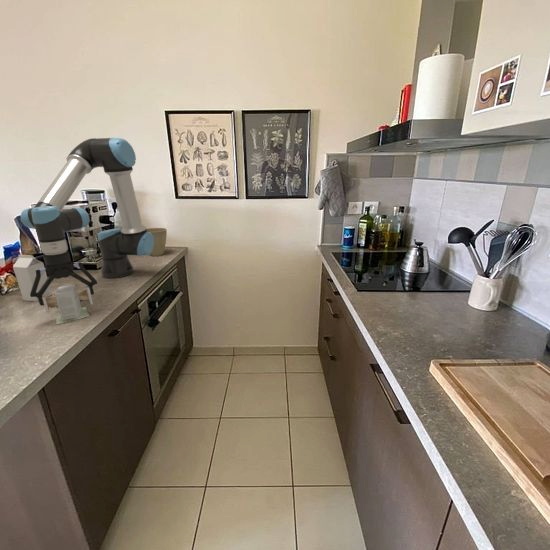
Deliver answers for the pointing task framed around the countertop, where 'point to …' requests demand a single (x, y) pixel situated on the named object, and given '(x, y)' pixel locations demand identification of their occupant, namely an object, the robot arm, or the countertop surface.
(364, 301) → the countertop surface
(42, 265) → the milk carton
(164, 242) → the plant pot
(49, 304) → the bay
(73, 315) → the small box
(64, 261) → the robot arm
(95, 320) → the countertop surface
